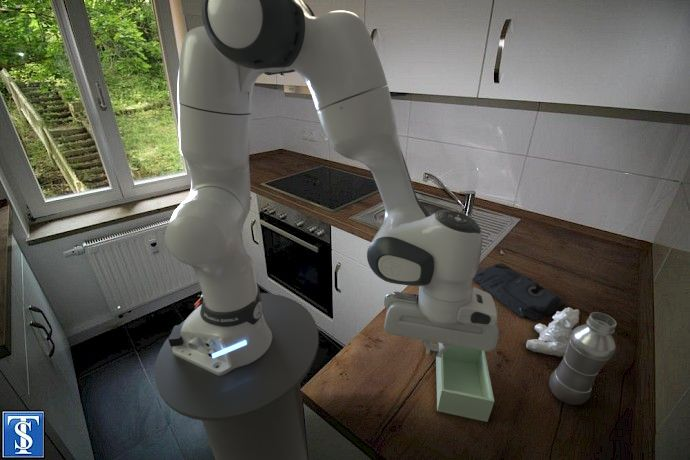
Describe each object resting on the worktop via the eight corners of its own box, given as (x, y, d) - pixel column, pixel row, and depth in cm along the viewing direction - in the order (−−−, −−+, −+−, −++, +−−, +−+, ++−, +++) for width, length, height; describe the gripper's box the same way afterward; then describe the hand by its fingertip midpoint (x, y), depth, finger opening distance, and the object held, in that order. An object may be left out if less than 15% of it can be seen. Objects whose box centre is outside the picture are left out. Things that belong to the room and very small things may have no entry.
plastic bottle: (541, 377, 66) (573, 304, 57) (576, 383, 65) (615, 309, 56) (552, 406, 61) (589, 329, 51) (591, 413, 59) (637, 336, 50)
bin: (441, 390, 57) (494, 401, 55) (439, 337, 68) (483, 345, 66) (437, 411, 60) (487, 422, 58) (435, 356, 71) (478, 364, 69)
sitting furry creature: (535, 326, 79) (549, 288, 74) (575, 344, 74) (593, 305, 69) (523, 348, 73) (538, 308, 68) (566, 369, 68) (586, 328, 62)
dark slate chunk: (503, 266, 103) (507, 253, 101) (568, 307, 85) (574, 293, 83) (467, 277, 98) (470, 264, 96) (528, 323, 80) (533, 309, 78)
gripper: (383, 301, 55) (379, 356, 62) (508, 320, 51) (490, 377, 57) (387, 280, 61) (383, 333, 67) (500, 296, 56) (485, 350, 63)
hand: (433, 353), depth 62 cm, fingers closed
